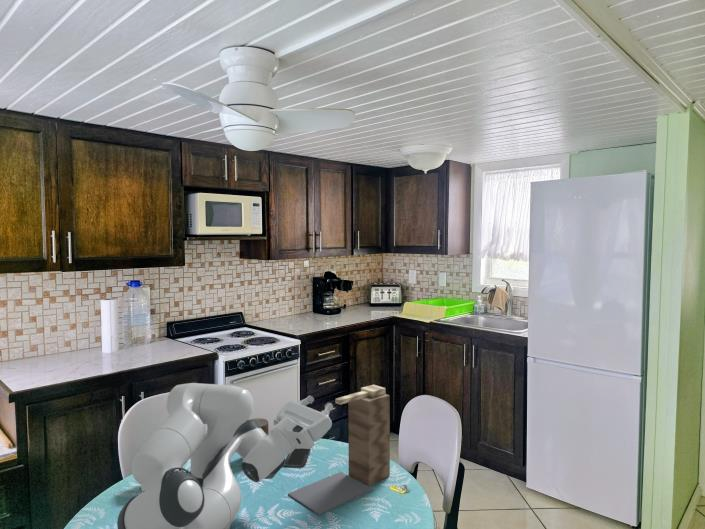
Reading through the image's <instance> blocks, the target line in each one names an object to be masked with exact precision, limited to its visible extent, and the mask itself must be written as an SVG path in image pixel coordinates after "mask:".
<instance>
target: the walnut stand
mask: <svg viewBox="0 0 705 529" xmlns="http://www.w3.org/2000/svg"><path fill="white" fill-rule="evenodd" d="M358 392H361V390H360V391H357V392H354V393H358ZM354 393H350V394H348V395H351V394H354ZM390 399H391V398H390V394H387V393H385V394H384V395H380V396H377V397H370V396H369V397H365V398H362V399H358V400H355V401H351V402H348V403H347V404H348V411H347V412H348V416H347V417H348V424H347V425H348V428H347V429H348V476H350V477H352V478H354V479H356V480H358V481H360V482H361V483H363V484H365V485H367V486H369V487H370V486H371V485H373V484H375V483H377V482H380V481H383V480H384V479H387V478H389V477H390V476H391V475H390V474H391V471H390V468H391V466H390V463H391V460H390V458H391V455H390V454H391V451H390V450H391V445H390V443H391V442H390V441H391V437H390V436H391V435H390V434H391V430H390V429H391V425H390V424H391V421H390V420H391V419H390V416H391V414H390V412H391V411H390V410H391V408H390V406H391V404H390V403H391V401H390ZM388 476H389V477H388ZM386 477H387V478H386Z"/></svg>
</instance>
